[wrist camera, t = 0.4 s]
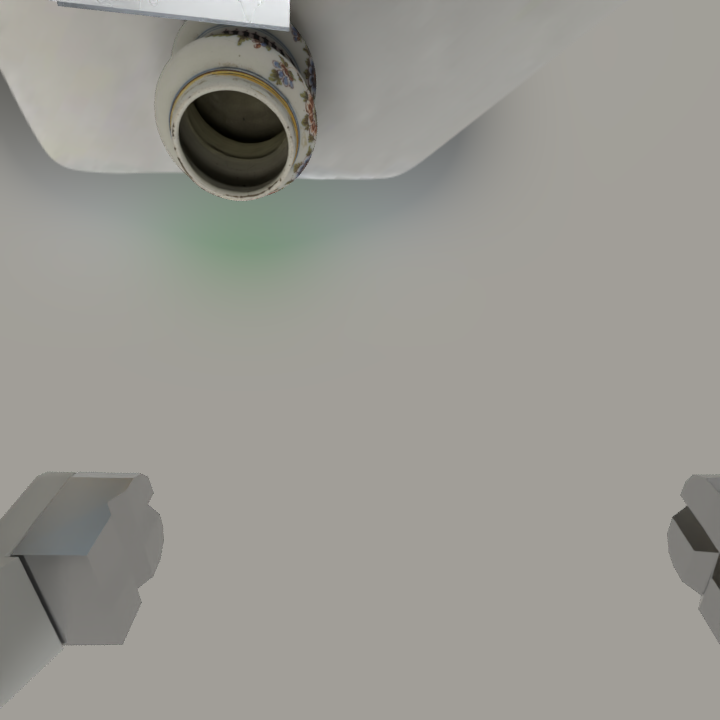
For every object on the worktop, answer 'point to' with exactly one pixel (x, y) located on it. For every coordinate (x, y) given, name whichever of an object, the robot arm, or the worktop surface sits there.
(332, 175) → the worktop surface
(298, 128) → the apothecary jar
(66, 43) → the worktop surface
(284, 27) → the housing tower
